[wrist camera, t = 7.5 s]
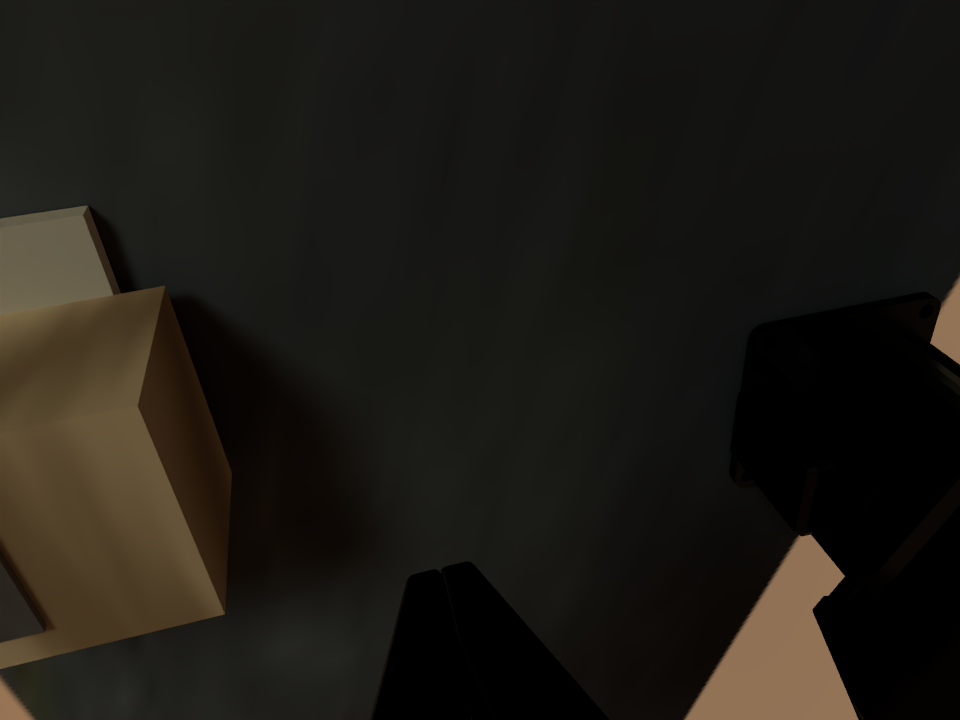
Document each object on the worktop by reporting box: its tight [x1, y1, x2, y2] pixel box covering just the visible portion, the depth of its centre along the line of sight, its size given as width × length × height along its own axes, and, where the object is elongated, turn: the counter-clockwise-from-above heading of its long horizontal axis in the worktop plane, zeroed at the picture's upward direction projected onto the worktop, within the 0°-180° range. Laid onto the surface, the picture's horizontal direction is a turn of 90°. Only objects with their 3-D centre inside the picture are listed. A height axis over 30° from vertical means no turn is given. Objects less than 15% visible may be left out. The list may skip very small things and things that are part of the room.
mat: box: [0, 206, 121, 315], centre depth 20 cm, size 5×10×1 cm, turn 5°
